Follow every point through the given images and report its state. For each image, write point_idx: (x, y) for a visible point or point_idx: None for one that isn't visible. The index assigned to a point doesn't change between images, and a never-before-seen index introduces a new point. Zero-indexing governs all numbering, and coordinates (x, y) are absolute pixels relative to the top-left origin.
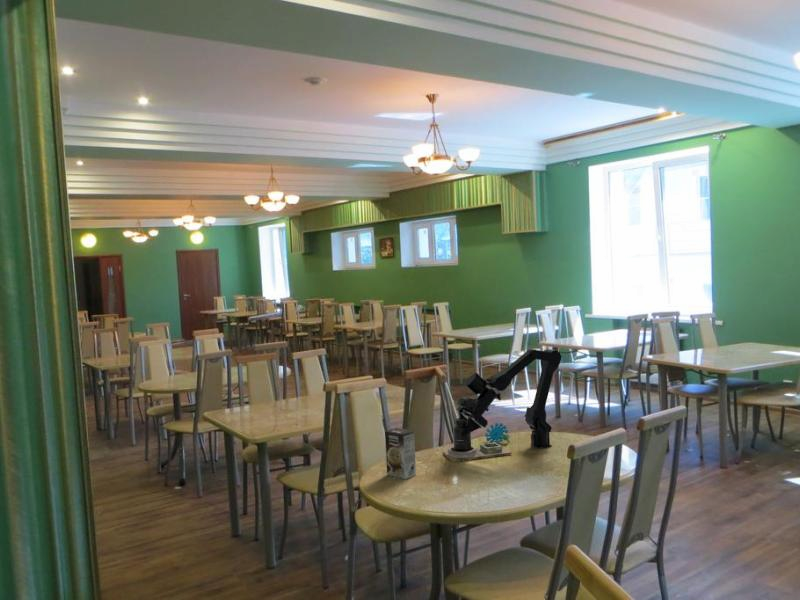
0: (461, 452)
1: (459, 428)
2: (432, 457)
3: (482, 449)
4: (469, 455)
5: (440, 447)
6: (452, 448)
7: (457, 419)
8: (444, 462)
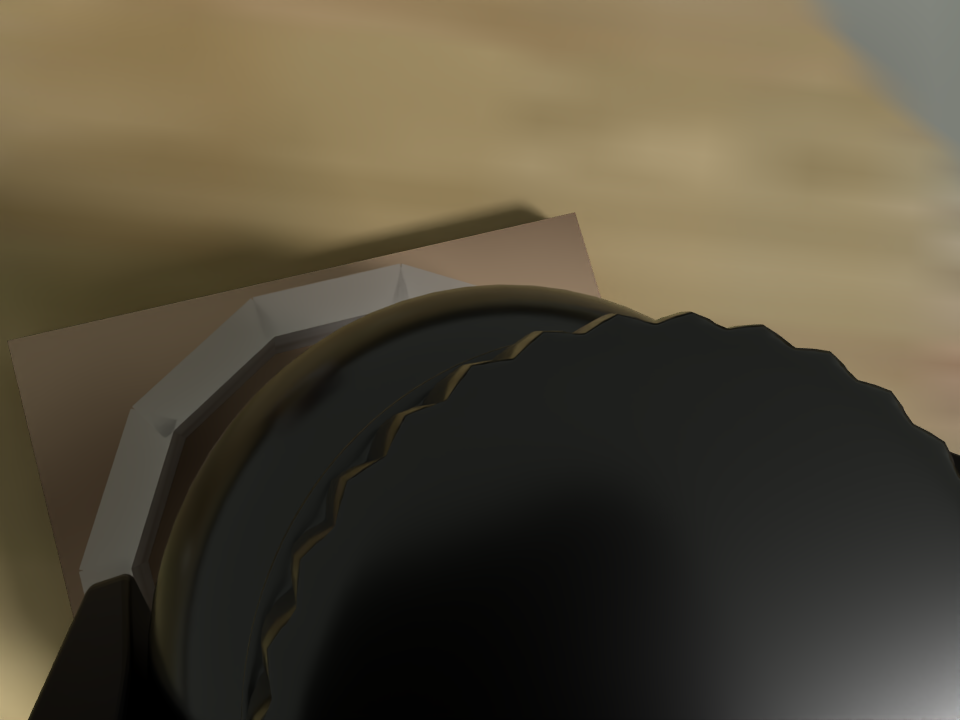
0: (107, 527)
1: (226, 532)
2: (418, 44)
3: None
4: None
5: (949, 228)
6: None
7: (677, 459)
8: (64, 200)
